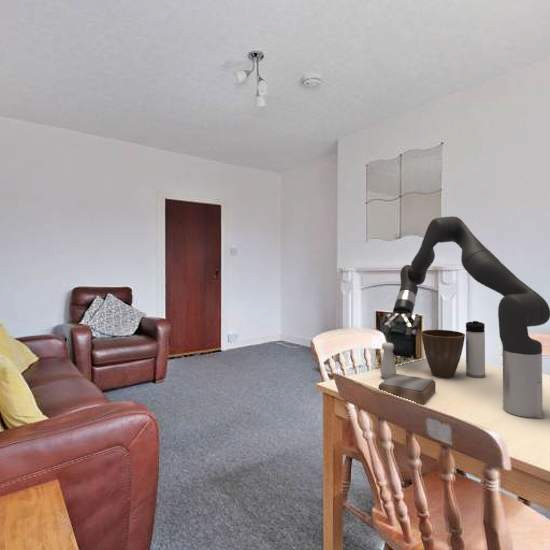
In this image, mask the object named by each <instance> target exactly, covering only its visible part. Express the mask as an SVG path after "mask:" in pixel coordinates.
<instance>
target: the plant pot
mask: <svg viewBox="0 0 550 550" xmlns="http://www.w3.org/2000/svg"><path fill="white" fill-rule="evenodd" d="M420 333H421V339H422V345H423V350H424V354H425V357H426V360H427V361H426V362H427V364H428V367H429V370H430V373H431V375H432V376H433V377H437V378H441V379H442V378H443V379H450V378H453V377H454V376H455V375H456V374H455V373H456V372H457V368H458V366H459V363H460V359H461V357H462V354H463V353H462V352H463V349H464V344H465V340H466V333H463V332H461V331H460V332H459V331H456V330H449V329H448V330H447V329H426V330H422V331H421V332H420Z"/></svg>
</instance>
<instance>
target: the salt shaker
mask: <svg viewBox="0 0 550 550" xmlns="http://www.w3.org/2000/svg"><path fill="white" fill-rule="evenodd" d="M381 349H382V350H383V352H382V358H381V359H382V360H381V365H380V371H379V372H380V375H381V377H382V379H385V380H386V379H387V378H389V377H390V376H391V375H393V374H394V373H395V374H397V368H396V363H395V358H394V353H393V350H394V349H395V345H394V344H393V342H383V343H382V345H381Z"/></svg>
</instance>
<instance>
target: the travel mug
mask: <svg viewBox="0 0 550 550" xmlns="http://www.w3.org/2000/svg"><path fill="white" fill-rule="evenodd" d="M485 326H486V325H485V323H483V322H481V321H477V320H473V321H467V322H466V323H465V374H466V375H467V376H468V377H469V378H470V377H471V378H474V377H476V379H481V378H485V377H486V333H485V329H486V327H485Z"/></svg>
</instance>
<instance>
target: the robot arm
mask: <svg viewBox="0 0 550 550" xmlns="http://www.w3.org/2000/svg"><path fill="white" fill-rule="evenodd" d="M450 242H452V243H455V244H456V245H457V246H459V248H460V249H461V256H460V257H461V259H460V260H461V265H462V267H463V268H464V270H465V271H466V272H467V273H468V274H469V275H470V276H471V278H473V280H475V281H476V282H477V283H479V284H480V285H483V286H484V287H486V288H489V289H491V290H493V291H494V292H496V293H498V294H500V295H501V296H503V297H502V298H501V299H500V301H499V303H498V307H497V311H498V313H497V317H498V318H497V319H498V330H499V338H500V341H501V345H502V409H503V410H504V411H505V412H507V413H508V414H511V415H514V416H519V417H522V418H524V417H525V418H538V419H543V412H544V411H543V410H544V409H543V345H542V342H540V341H539V340H537V339H534V338H531V337H530V335H529V329H528V328H529V327H538V326H543V325H545V324H546V323H547V322H548V321H549V320H550V306H549V304H548V302H547V301H546V300H545V299H544V297H543V296H542V295H540V294H539V293H538V292H537V291H535V290H534V289H532V288H531V287H530V286H529V285H527V284H526V283H524V282H523V281H522V280H521V279H520V278H519V277H517V276H516V275H515V274H514V273H513V272H512V271H511V270H510V269H509V268H508V267H507V266H505V264H504V263H503V262H501V261H500V259H498V257H496V256H495V254H494V253H493V252H491V250H489V249H488V248H487V247H486V246H485V245H483V243H482V242H481V241H480V240H479V239H478V238H477V237H476V236H475V235H474V233H473V232H472V231H471V230H470V228H469V227H468V226H467V224H466V223H465V222H464V221H463V220H462V219H461V218H459V217H458V216H453V215H451V216H450V215H449V216H443V217H442V216H441V217H435V218H433V219H432V220H431V221H430V222H429V224H428V226H427V229H426V230H425V234H424V236H423V239H422V242H421V244H420V247H419V250H418V252H417V253H416V255H415V256H414V257H413V259H412V261H411V264H405V265H403V267H401V269H400V273H399V274H400V276H399V277H400V278H399V279H400V288H399V291H398V294H397V296H396V300H395V303H394V305H393V310H392V312H391V313H388V312H386V311H385V312H384V313H383V316H382V318H381V321H380V324H381V326H382V328H383V330H382V334H384V336H385V337H387V336H388V334H389V331H390V328H391V327H393V326H395V325H401V326H407V328H406V332H405V337H406V339H409V338H410V337H412V332H413V331H414V330H415V331H417V330H419V324H420V320H421V319H420V316H419V314H418V313H416V314H415V315H414V314H413V312H414V309H415V306H416V301H417V300H416V298H417V295H418V290H419V287H418V286H419V285H423V284H424V283H425V280H426V277H427V271H428V270H429V268H430V267H431V266H432V264H433V263H434V261H435V259H436V258H435V256H436V255H435V249H434V247H435V246H436V245H437V244H439V243H450ZM412 319H413V324H411V323H410V321H412Z"/></svg>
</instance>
